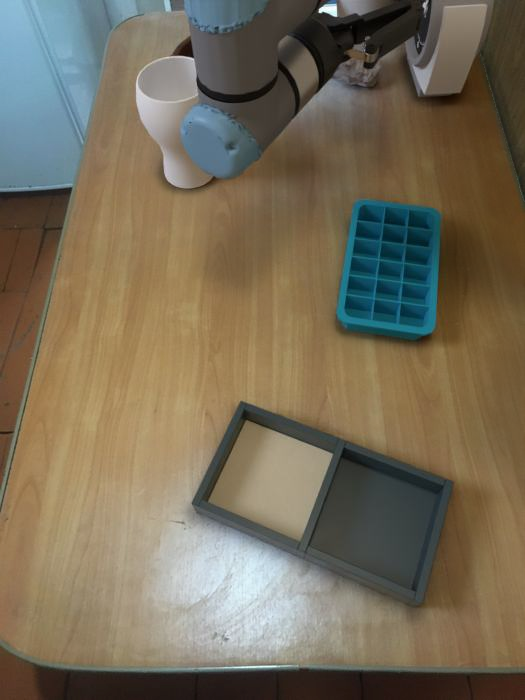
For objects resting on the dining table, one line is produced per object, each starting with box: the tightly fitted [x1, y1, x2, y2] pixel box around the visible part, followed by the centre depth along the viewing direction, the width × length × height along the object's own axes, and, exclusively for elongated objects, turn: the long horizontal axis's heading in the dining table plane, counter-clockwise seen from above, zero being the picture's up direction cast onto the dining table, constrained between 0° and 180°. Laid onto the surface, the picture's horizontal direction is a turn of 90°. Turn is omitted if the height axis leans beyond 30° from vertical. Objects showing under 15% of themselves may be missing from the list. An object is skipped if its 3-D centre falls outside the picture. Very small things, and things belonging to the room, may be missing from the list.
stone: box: [332, 58, 382, 88], centre depth 90 cm, size 8×10×6 cm
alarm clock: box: [404, 0, 495, 98], centre depth 83 cm, size 18×8×20 cm, turn 3°
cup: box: [135, 55, 215, 189], centre depth 76 cm, size 11×11×15 cm
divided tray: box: [190, 400, 455, 608], centre depth 56 cm, size 23×12×4 cm, turn 67°
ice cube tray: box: [336, 198, 442, 341], centre depth 71 cm, size 12×20×3 cm, turn 169°
